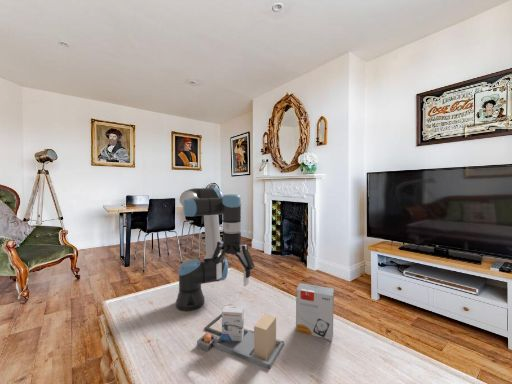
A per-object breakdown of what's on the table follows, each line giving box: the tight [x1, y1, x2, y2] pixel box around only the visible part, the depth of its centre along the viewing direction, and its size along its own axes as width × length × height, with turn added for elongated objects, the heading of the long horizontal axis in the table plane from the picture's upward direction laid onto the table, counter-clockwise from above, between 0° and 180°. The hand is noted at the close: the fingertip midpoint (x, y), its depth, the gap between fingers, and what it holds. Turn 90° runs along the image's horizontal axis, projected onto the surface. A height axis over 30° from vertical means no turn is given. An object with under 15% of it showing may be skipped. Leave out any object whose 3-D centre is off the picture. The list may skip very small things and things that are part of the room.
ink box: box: [221, 305, 245, 341], centre depth 99 cm, size 9×5×12 cm, turn 84°
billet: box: [253, 313, 277, 361], centre depth 92 cm, size 5×9×12 cm, turn 152°
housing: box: [196, 332, 219, 352], centre depth 98 cm, size 6×6×2 cm
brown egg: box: [203, 333, 212, 343], centre depth 98 cm, size 3×3×4 cm
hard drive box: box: [295, 282, 335, 342], centre depth 105 cm, size 16×8×20 cm, turn 68°
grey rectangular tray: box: [212, 327, 285, 370], centre depth 96 cm, size 25×14×2 cm, turn 62°
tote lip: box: [203, 313, 222, 336], centre depth 113 cm, size 12×16×1 cm
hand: (232, 281), depth 101 cm, fingers open, 13 cm apart
